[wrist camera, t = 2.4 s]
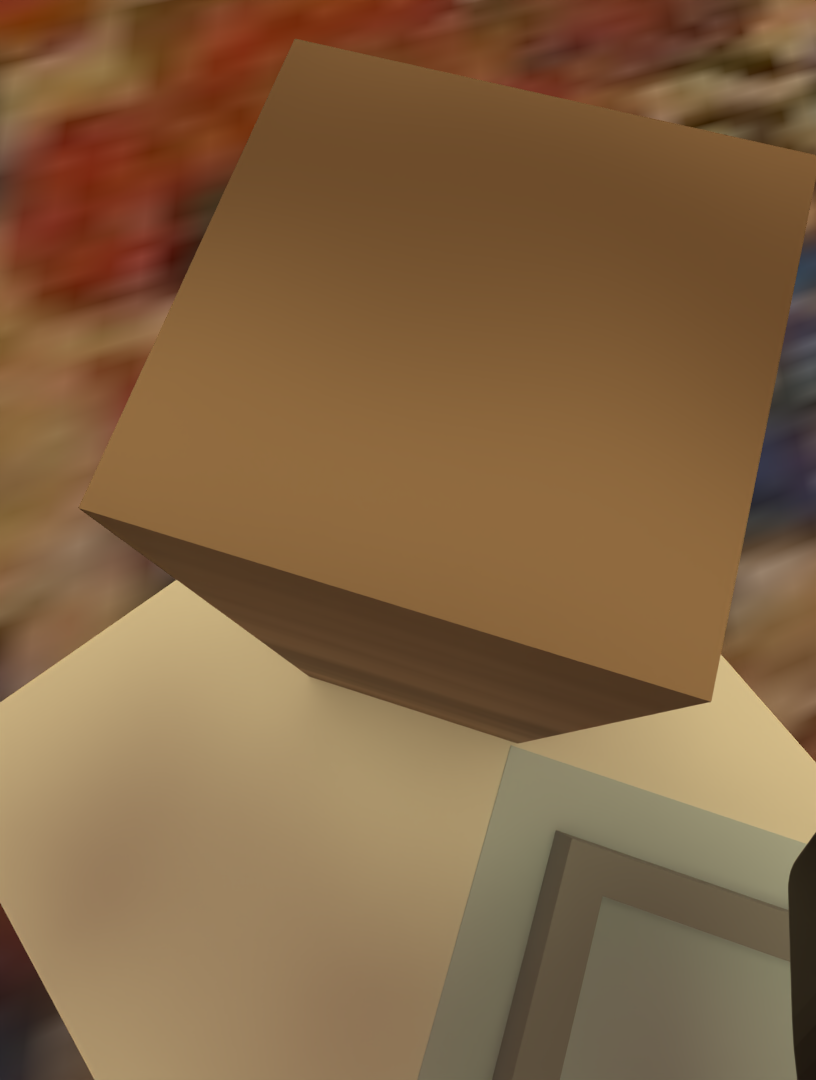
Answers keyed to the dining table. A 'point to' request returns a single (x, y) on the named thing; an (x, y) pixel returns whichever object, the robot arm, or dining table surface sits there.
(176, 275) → the dining table surface
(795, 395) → the dining table surface
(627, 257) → the walnut pillar
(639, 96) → the dining table surface
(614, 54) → the dining table surface
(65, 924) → the cream flat board
